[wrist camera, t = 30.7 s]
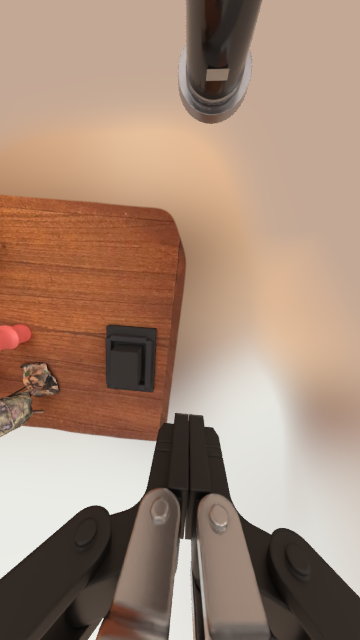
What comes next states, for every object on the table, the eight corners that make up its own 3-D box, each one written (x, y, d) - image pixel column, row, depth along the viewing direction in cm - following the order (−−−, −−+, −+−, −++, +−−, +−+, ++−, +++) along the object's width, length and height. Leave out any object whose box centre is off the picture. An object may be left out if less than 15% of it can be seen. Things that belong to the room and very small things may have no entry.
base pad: (108, 324, 37) (102, 327, 34) (156, 328, 37) (154, 331, 34) (109, 385, 40) (103, 392, 37) (153, 389, 39) (151, 396, 37)
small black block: (118, 343, 36) (110, 350, 32) (143, 345, 36) (137, 353, 32) (118, 374, 38) (110, 385, 34) (142, 376, 38) (136, 387, 34)
